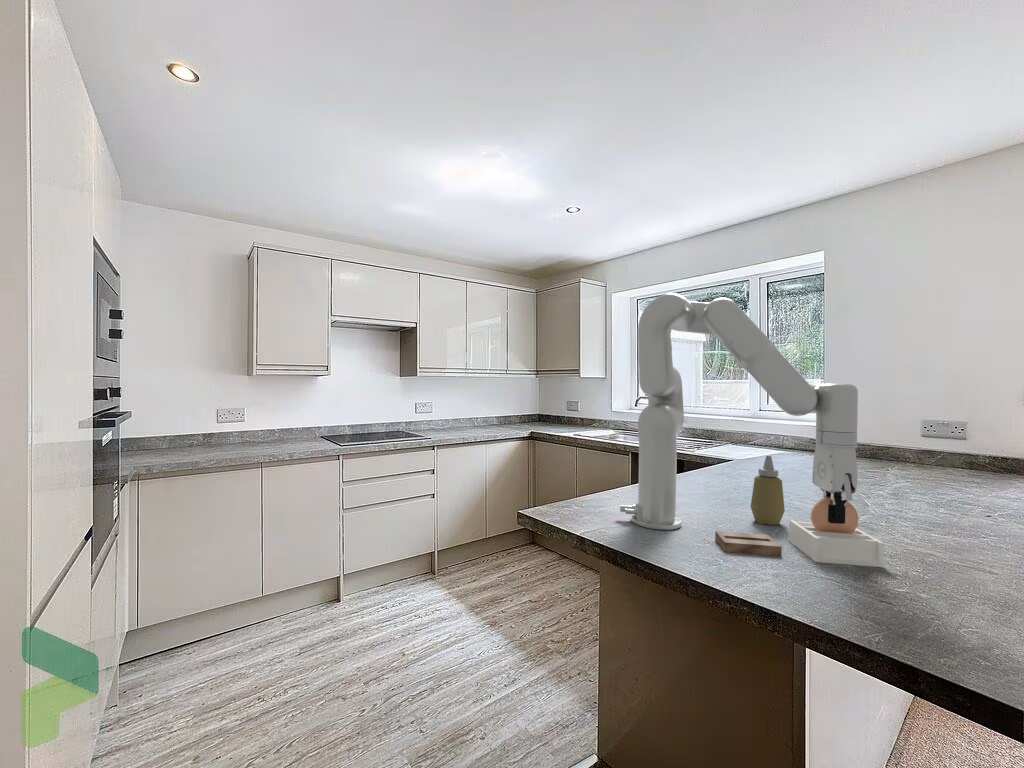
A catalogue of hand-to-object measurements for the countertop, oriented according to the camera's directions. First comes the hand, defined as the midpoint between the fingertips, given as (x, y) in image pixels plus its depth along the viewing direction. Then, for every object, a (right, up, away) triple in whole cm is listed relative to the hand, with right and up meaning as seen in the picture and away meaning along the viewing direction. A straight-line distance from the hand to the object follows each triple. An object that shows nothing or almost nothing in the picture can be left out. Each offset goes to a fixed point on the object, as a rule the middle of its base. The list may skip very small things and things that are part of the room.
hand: (834, 521), depth 102 cm
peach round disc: (0, +1, 0) cm, 1 cm away
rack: (0, -7, 0) cm, 7 cm away
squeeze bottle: (-3, -7, +22) cm, 24 cm away
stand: (-18, -7, +3) cm, 19 cm away
